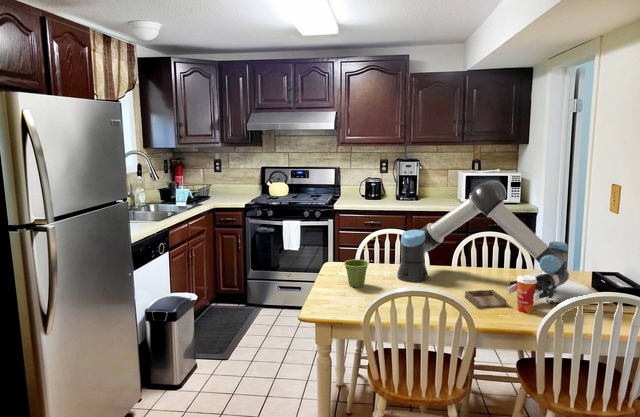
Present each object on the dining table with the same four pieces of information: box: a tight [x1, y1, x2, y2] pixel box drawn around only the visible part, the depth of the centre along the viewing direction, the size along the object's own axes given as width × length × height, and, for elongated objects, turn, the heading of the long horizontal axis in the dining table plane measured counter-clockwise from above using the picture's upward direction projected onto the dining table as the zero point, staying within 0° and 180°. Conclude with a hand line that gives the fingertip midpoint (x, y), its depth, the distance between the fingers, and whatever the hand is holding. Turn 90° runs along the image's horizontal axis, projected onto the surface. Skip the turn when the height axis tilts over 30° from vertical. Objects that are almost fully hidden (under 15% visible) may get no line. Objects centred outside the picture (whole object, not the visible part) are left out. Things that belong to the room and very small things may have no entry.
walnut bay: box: [464, 289, 507, 309], centre depth 197 cm, size 13×13×3 cm
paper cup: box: [515, 274, 537, 314], centre depth 187 cm, size 8×8×14 cm
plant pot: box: [343, 259, 370, 288], centre depth 221 cm, size 12×12×11 cm
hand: (521, 294), depth 184 cm, fingers open, 10 cm apart
